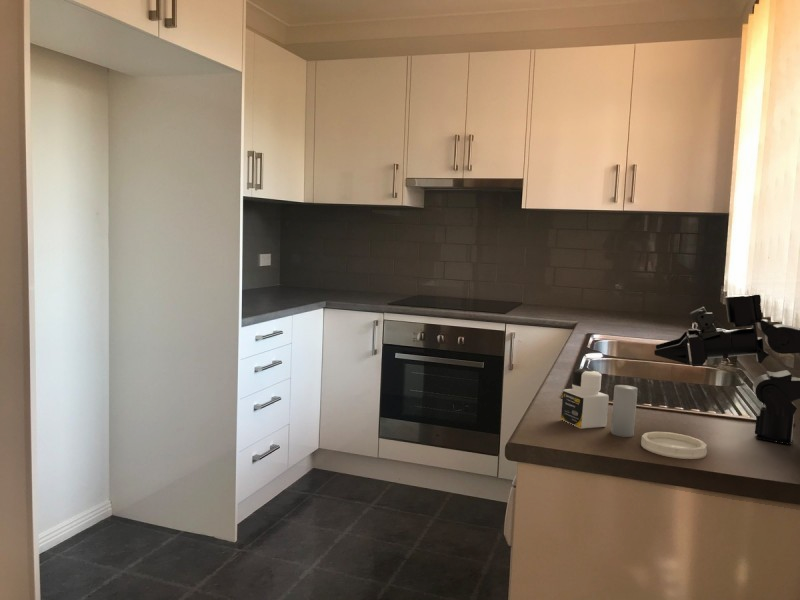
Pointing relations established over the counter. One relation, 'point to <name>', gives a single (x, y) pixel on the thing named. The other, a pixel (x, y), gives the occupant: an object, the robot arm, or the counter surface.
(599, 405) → the medicine bottle
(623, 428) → the grey cylinder
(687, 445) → the saucer
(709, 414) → the counter surface
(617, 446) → the counter surface
